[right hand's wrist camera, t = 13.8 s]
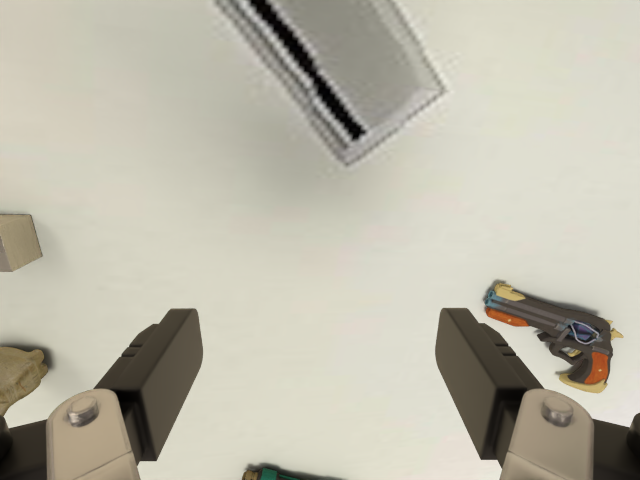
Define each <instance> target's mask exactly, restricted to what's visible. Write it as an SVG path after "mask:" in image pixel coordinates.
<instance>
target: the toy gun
mask: <svg viewBox="0 0 640 480" xmlns="http://www.w3.org/2000/svg"><path fill="white" fill-rule="evenodd" d="M512 289H513V288H511V285H507V284H501V283H499V284H497V285H496V286H495V288H494V291H492V290H491V291H490V292H489V294H488V298H486V300H485V305H487V307H488V308H487V309H486V314H487V316H488V317H490V318H493V319H496V320H498V321H501V322H504V323H507V324H509V325H512V326H532V327H535V328H538V329H541V330H543V331H545V332H543V333H540V334H538V335H537V336H538V338H539V339H540V341H543V342H552V343H551V344H550V346H549V350H550V352H551V353H552V355H554V356H557V357H560V358H562V359H564V360H566V361H567V362H568V363H570V364H571V365H574V364H576V363H577V362H578V361H580V360H582V359H583V362H582V365H581V366H580V367H579V368H578V369H577V370H576V371H575V372H573V373H570V374H561V375H560V377H559V380H560V381H562V382H563V383H565V384H567V385H569V386H571V387H574V388H577V389H580V390H583V391H586V392H591V393H600V392H602V391H603V390H604V389H605V388H606V386H607V383H606V381H607V379H608V376H609V373H610V360H611V357H612V356H613V353H612V352H613V348H612V346H611V340H613V339H614V338H615V337H619V338H623V335H622V334H621V333H619V332H617V331H616V330H615V329H614V328H613V329H612V330H611V331H610V324H611V323H612V322H613V321H609V320H605V319H603V318H600V317H597V316H594V315H591V314H588V313H585V312H581V311H576V310H570V309H563V308H559V307H556V306H553V305H550V304H547V303H544V302H541V301H538V300H535V299H533V298H530V297H527V296H524V295H522V294H520V293H517V292H514V291H512ZM590 324H591V325H594V326H596V327H595V328H594V329H592V327H591V325H590ZM567 334H569V335H572V336H574V337H572V336H569V335H567ZM578 338H580V339H578ZM582 339H583V340H582ZM566 346H567V347H570V348H573V349H576V350H575V351H573V352H572V353H568V355H569V356H568V355H567V354H565V353H564V352H562V351H560V349H561V348H563V347H566ZM570 356H571V357H570ZM572 356H573V357H572Z"/></svg>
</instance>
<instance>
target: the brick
mask: <svg viewBox="0 0 640 480" xmlns="http://www.w3.org/2000/svg"><path fill="white" fill-rule="evenodd" d="M40 257H42V254H41V250H40V247H39V243H38V240H37V236H36V233H35V229H34V226H33V222H32V218H31V215H0V272H13V271H15V270H17V269H19V268H20V267H22V266H24V265H26V264H28V263H30V262H32V261H34V260H36V259H38V258H40Z"/></svg>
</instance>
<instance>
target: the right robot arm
mask: <svg viewBox="0 0 640 480" xmlns="http://www.w3.org/2000/svg"><path fill="white" fill-rule="evenodd" d="M435 355H436V362H437V366H438V368H439V370H440V373H441V375H442V377H443V379H444V381H445V383H446V386H447V388H448V390H449V392H450V394H451V396H452V398H453V401H454V403H455V405H456V407H457V409H458V411H459V414H460V416H461V418H462V420H463V422H464V424H465V426H466V429H467V431H468V433H469V435H470V437H471V439H472V442H473V444H474V446H475V448H476V450H477V452H478V454H479V457H480V459H481V460H498V462H499V464H500V466H501V468H502V472H501V476H500V480H640V413H638V414H636V415H635V416H634V419H633V421H632V424H631V426H630V428H629V427H625V426H621V425H617V424H612V423H608V422H604V421H600V420H596V419H592V418H591V416H590V414H589V413H588V412H587V411H586V410H585V409H584V408H583V407H582V406H581V405H580V404H578V403H577V402H576V401H574V400H573V399H571V398H569V397H567V396H565V395H563V394H561V393H558V392H555V391H552V390H547V389H544V388H543V386H542V385H541V384H540V383H539V381H538V380H537V379H536V378H535V376H534V375H533V374H532V373H531V372H530V370H529V369H528V368H527V367H526V365H525V364H524V363H523V362H522V361H521V359H520V358H519V357H518V356H516V353H515V352H514V351H513V349H512V348H511V347H509V346H508V343H507V342H506V341H505V340H504V338H503V337H502V336H501V335H500V334H499V333H498V332H497V331H495V330H494V329H492V328H491V327H489V326H488V325H486V324H485V323H478V321H477V320H476V319H475V317H474V316H473V315H472V313H471V312H470V311H469V310H468V309H467V308H443V309H442V310H441V312H440V318H439V325H438V332H437V340H436V347H435ZM202 358H203V346H202V339H201V332H200V324H199V317H198V312H197V310H196V309H170V310H169V311H168V313H167V314H166V315H165V317H164V318H163V319H162V321H161V322H160V323H159V324H152V325H151V326H149V327H148V328H146V329H145V330H143V331H142V332H141V333H139V334H138V335H137V336H136V338H135V339H134V340H133V341H132V342H131V344H130V345H129V347H127V349H126V350H125V351H124V352H123V353H122V356H121V357H119V358H118V359H117V361H116V362H115V363H114V364H113V366H112V367H111V368H110V369H109V370H108V372H107V373H106V374H105V375H104V377H103V378H102V379H101V380H100V381H99V383H98V384H97V385H96V386H95V387H94V389H93V390H88V391H85V392H82V393H79V394H77V395H75V396H73V397H71V398H69V399H67V400H66V401H64V402H63V403H62V404H60V405H59V406H58V407H57V408H56V409H55V410H54V411H53V412H52V413H51V414H50V416H49V418H48V419H46V420H43V421H38V422H34V423H30V424H26V425H22V426H17V427H13V428H8V426H7V423H6V421H5V418H4V417H3V416H2V415H0V480H140V476H139V472H138V469H137V466H138V464H139V462H140V461H157V459H158V457H159V455H160V452H161V450H162V448H163V446H164V444H165V442H166V440H167V438H168V435H169V433H170V431H171V429H172V427H173V425H174V423H175V421H176V418H177V416H178V414H179V412H180V410H181V408H182V406H183V403H184V401H185V399H186V397H187V395H188V393H189V391H190V389H191V386H192V384H193V382H194V380H195V378H196V376H197V374H198V372H199V369H200V367H201V364H202Z"/></svg>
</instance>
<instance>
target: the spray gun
mask: <svg viewBox="0 0 640 480" xmlns="http://www.w3.org/2000/svg"><path fill="white" fill-rule="evenodd" d="M245 479H246V480H300V479H296V478H292V477H288V476H284V475H280V473H277V471H274V470H270V469H266V468H263V469H259V471H258V472H255V473H254V472H253V471H249V470H247V471H246V472H244V474H243V477H242V480H245Z"/></svg>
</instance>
